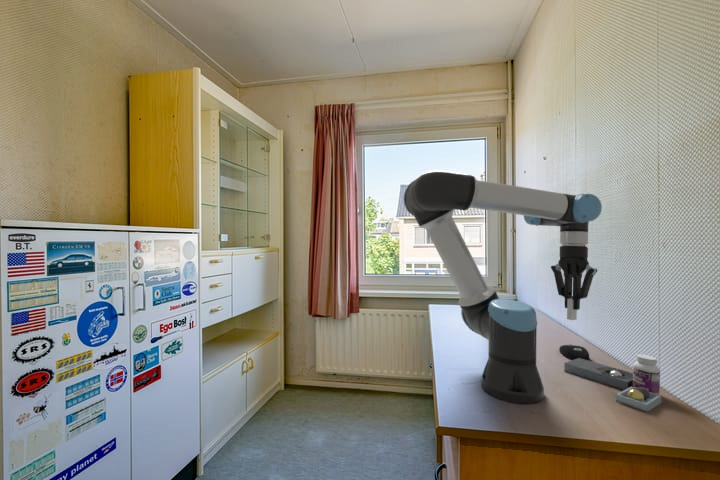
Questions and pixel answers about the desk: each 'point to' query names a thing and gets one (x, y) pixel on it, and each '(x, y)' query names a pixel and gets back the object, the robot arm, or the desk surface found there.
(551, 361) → the desk surface
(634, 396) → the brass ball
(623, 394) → the parts tray
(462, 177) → the robot arm
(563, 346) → the computer mouse
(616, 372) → the steel ball
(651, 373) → the pill bottle
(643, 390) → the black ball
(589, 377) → the block
